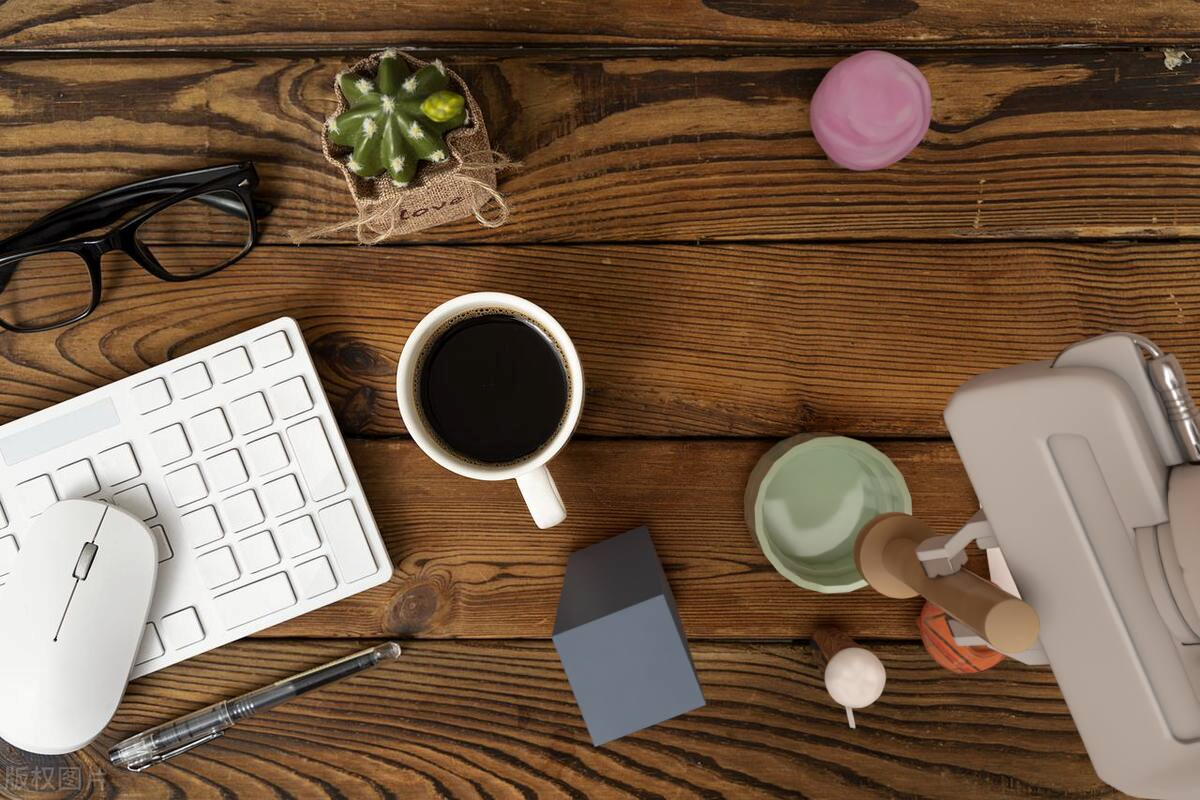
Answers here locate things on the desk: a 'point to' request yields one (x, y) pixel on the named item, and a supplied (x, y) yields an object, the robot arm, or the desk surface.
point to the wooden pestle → (941, 583)
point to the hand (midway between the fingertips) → (938, 592)
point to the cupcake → (870, 111)
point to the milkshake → (847, 669)
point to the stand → (623, 638)
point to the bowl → (820, 506)
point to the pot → (953, 644)
